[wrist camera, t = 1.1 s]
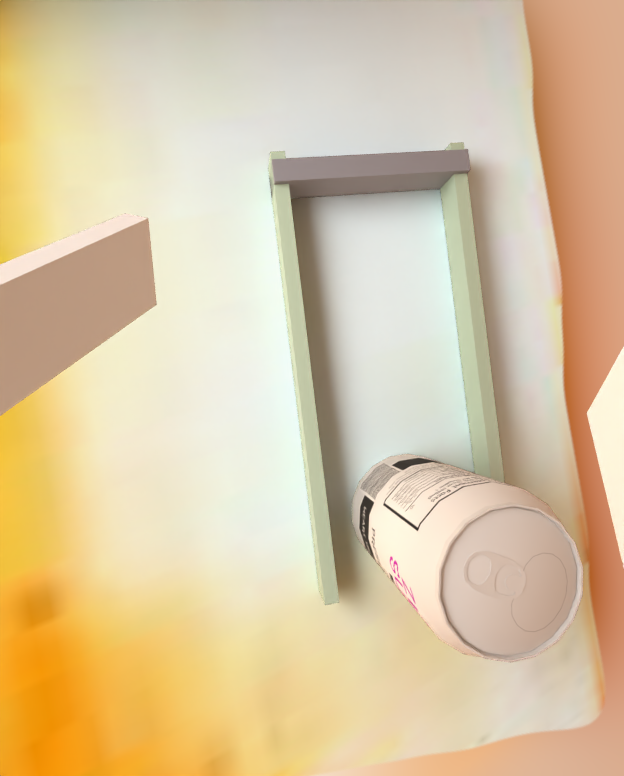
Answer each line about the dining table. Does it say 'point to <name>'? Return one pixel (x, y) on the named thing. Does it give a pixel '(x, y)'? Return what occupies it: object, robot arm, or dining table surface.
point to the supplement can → (470, 555)
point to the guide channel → (452, 181)
